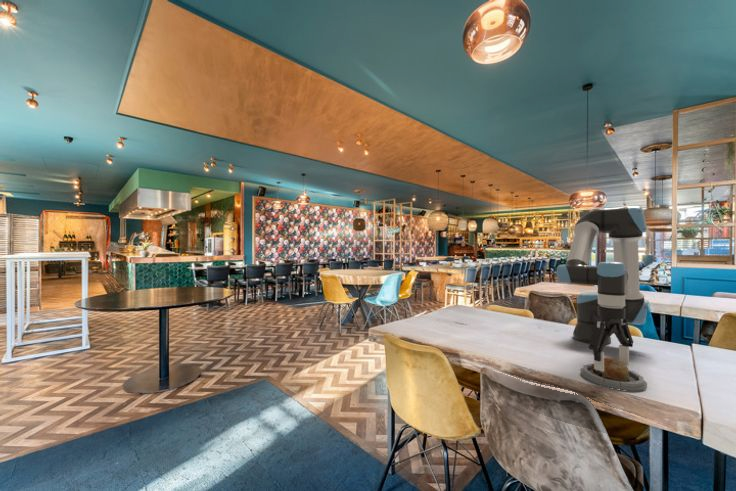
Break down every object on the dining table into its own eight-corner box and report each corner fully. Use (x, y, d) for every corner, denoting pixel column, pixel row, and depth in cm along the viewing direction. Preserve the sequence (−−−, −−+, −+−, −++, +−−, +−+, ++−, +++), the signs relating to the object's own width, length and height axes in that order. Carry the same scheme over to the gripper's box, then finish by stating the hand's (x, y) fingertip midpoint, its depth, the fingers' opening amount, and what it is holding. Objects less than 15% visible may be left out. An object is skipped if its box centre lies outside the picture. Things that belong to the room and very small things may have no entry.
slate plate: (600, 366, 117) (600, 360, 117) (659, 385, 100) (659, 379, 100) (568, 373, 110) (568, 367, 110) (625, 395, 93) (625, 388, 93)
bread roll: (625, 394, 99) (639, 375, 97) (590, 375, 104) (603, 356, 102) (620, 383, 108) (633, 364, 106) (588, 365, 113) (599, 347, 111)
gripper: (621, 301, 113) (621, 358, 113) (576, 307, 104) (576, 368, 104) (645, 305, 106) (646, 365, 106) (599, 311, 97) (600, 377, 97)
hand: (611, 367), depth 105 cm, fingers open, 13 cm apart
